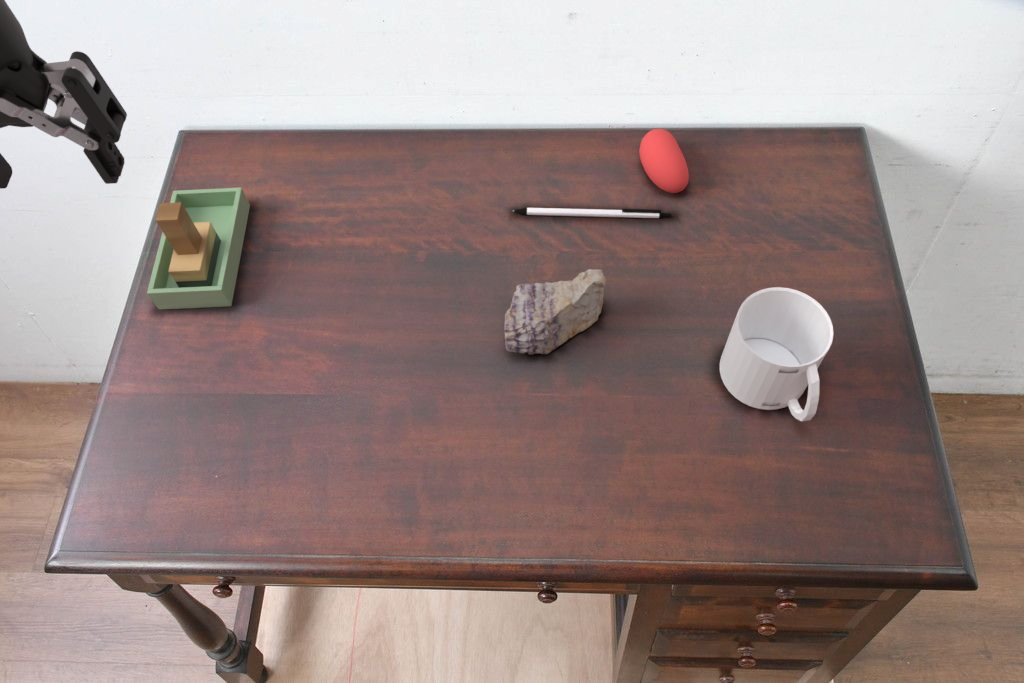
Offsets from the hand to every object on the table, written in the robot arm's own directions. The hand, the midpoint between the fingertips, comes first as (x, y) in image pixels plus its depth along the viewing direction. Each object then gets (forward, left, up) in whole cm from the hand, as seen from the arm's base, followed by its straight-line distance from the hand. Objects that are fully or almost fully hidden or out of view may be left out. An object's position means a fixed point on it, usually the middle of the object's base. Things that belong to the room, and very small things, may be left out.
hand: (60, 178), depth 61 cm
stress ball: (+59, +2, -30) cm, 66 cm away
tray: (+4, +16, -30) cm, 34 cm away
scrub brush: (+3, +14, -29) cm, 33 cm away
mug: (+53, -29, -30) cm, 68 cm away
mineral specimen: (+36, -12, -30) cm, 49 cm away
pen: (+48, 0, -30) cm, 57 cm away
